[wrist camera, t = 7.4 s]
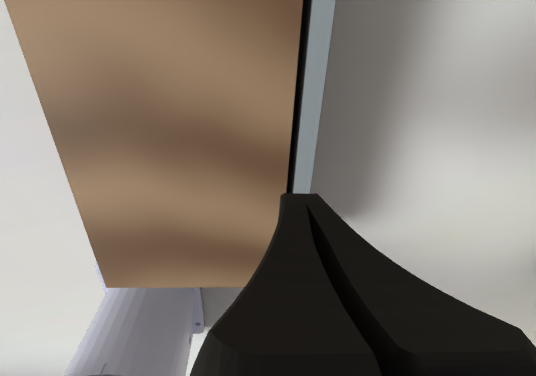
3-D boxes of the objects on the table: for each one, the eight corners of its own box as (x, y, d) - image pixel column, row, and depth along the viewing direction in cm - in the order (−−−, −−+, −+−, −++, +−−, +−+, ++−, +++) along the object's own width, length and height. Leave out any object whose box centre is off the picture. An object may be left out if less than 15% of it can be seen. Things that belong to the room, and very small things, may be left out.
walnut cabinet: (272, 224, 23) (277, 287, 18) (139, 223, 22) (106, 287, 17) (291, -72, 14) (313, -118, 9) (68, -87, 13) (-48, -146, 8)
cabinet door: (301, 227, 23) (313, 285, 18) (277, 227, 23) (284, 285, 18) (338, -71, 14) (383, -112, 9) (299, -73, 14) (324, -116, 9)
